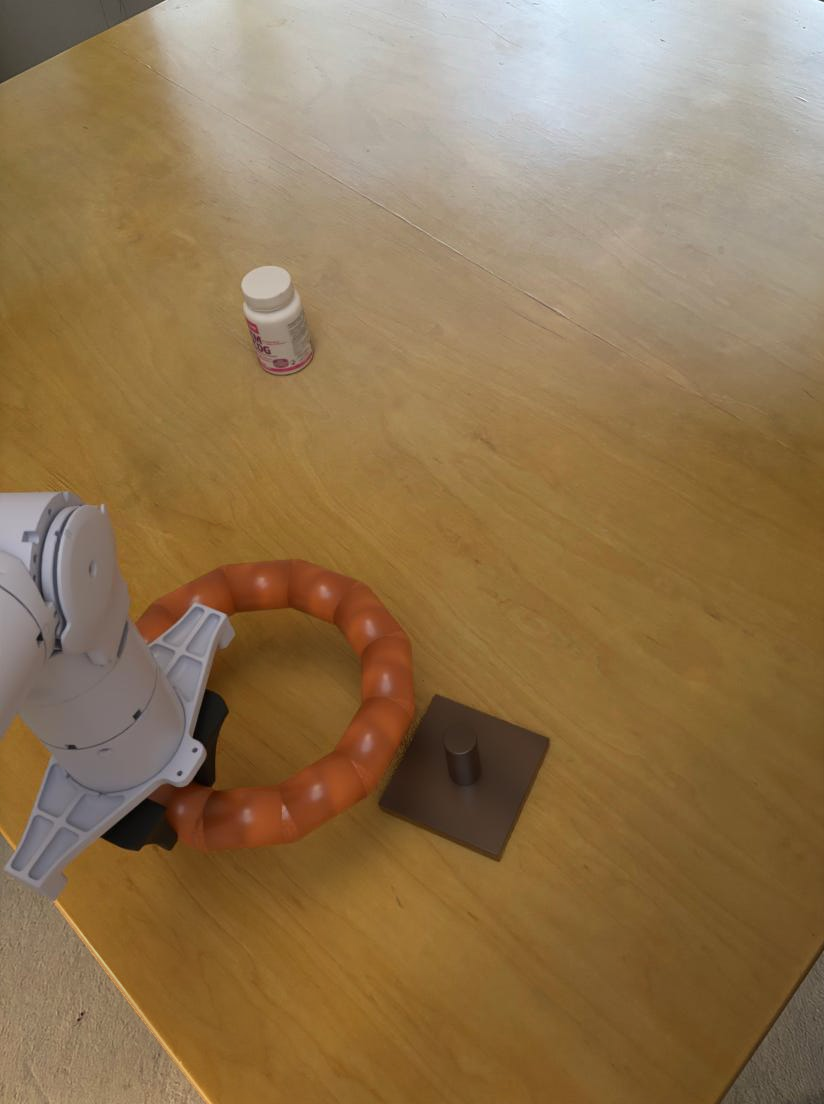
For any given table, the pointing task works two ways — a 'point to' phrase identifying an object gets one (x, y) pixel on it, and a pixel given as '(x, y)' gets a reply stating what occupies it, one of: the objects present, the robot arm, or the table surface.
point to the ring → (362, 747)
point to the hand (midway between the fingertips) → (178, 807)
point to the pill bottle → (276, 320)
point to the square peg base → (465, 776)
